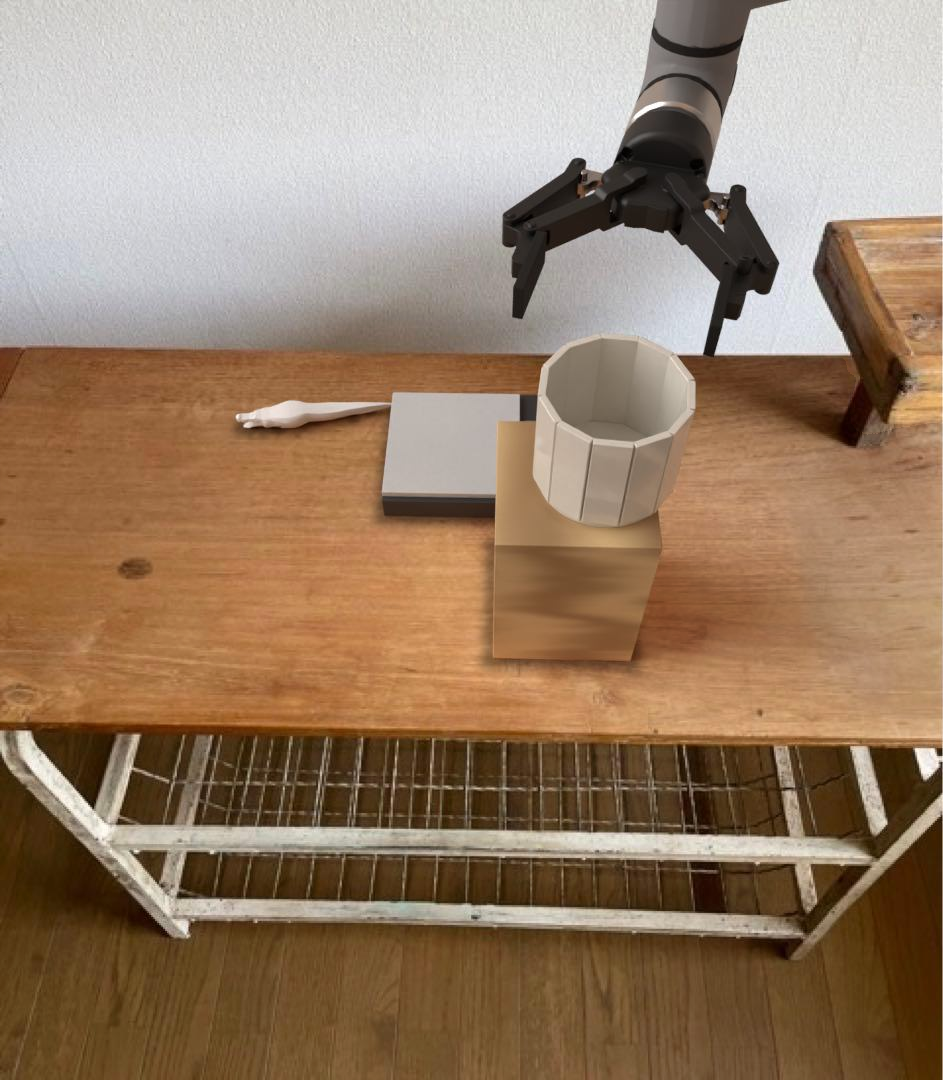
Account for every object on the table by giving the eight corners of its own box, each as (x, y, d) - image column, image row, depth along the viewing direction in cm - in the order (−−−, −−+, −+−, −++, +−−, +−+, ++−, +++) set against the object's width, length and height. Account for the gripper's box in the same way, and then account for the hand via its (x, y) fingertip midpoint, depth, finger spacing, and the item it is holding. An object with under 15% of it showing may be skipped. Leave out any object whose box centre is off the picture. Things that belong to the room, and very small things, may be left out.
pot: (673, 429, 66) (695, 340, 59) (671, 537, 60) (695, 454, 53) (540, 416, 67) (546, 327, 60) (526, 522, 61) (531, 438, 54)
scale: (539, 410, 88) (541, 390, 86) (541, 518, 81) (542, 499, 79) (395, 408, 89) (393, 388, 87) (384, 516, 81) (381, 496, 79)
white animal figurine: (238, 437, 87) (234, 424, 85) (239, 417, 88) (234, 403, 87) (395, 420, 88) (394, 406, 86) (393, 400, 89) (391, 386, 88)
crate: (622, 547, 79) (649, 422, 66) (630, 661, 73) (662, 548, 60) (495, 545, 79) (497, 420, 66) (492, 658, 73) (494, 545, 60)
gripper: (809, 216, 75) (782, 397, 64) (517, 167, 80) (442, 328, 68) (839, 131, 69) (814, 314, 58) (520, 83, 73) (438, 244, 62)
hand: (613, 322), depth 63 cm, fingers open, 13 cm apart
